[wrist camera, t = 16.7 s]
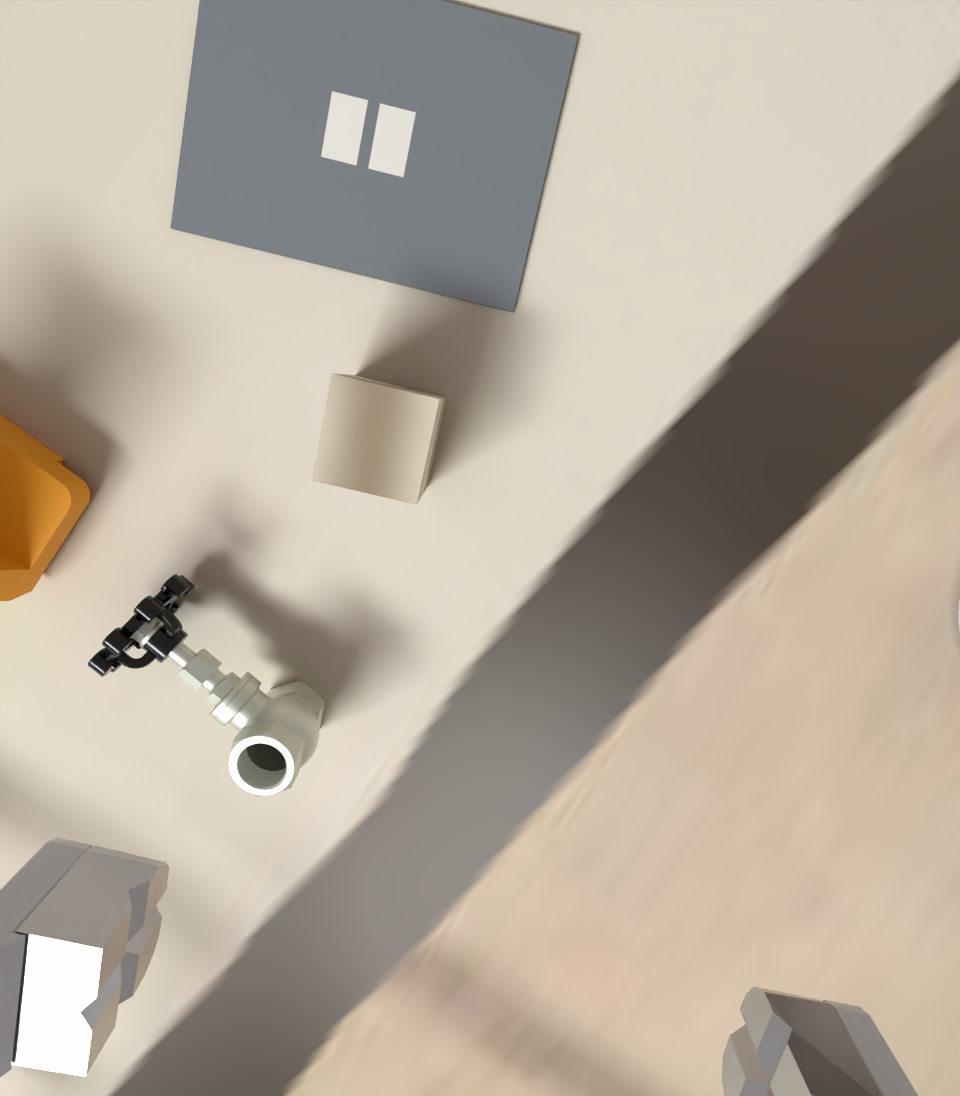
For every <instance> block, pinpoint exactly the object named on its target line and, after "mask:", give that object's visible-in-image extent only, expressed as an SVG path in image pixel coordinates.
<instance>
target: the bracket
mask: <svg viewBox="0 0 960 1096" xmlns="http://www.w3.org/2000/svg"><path fill="white" fill-rule="evenodd" d="M63 461H64V459H63V458H62V457H60V456H59V455H57V454H56V453H55V452H53V451H52V450H50V449H49V448H48V447H46V446H45V445H43V444H42V443H40V442H39V441H38V440H36V439H35V438H33V437H32V436H31V435H29V434H28V433H26V432H25V431H23V430H22V429H21V428H19V427H18V426H16V425H15V424H14V423H12V422H11V421H9V420H8V419H6V418H5V417H4V416H2V415H1V414H0V601H9V600H12V599H15V598H17V597H19V596H21V595H23V594H26V593H28V592H30V591H32V590H33V588H34V587H35V585H36V583H37V582H38V580H39V579H40V577H41V576H42V574H43V573H44V571H45V570H46V568H47V567H48V565H49V563H50V562H51V560H52V559H53V557H54V556H55V554H56V553H57V551H58V550H59V548H60V547H61V545H62V543H63V542H64V540H65V539H66V537H67V536H68V534H69V533H70V531H71V530H72V528H73V527H74V525H75V523H76V522H77V520H78V519H79V517H80V516H81V514H82V513H83V511H84V510H85V508H86V506H87V505H88V503H89V501H90V490H89V487H88V485H87V484H86V482H85V481H84V480H83V479H81V478H80V477H78V476H77V475H76V474H74V473H73V472H71V471H70V470H69V469H67V468H66V467H64V466H63V465H61V464H62V462H63Z"/></svg>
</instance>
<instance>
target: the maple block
mask: <svg viewBox="0 0 960 1096" xmlns="http://www.w3.org/2000/svg"><path fill="white" fill-rule="evenodd" d="M446 400H447V397H444V396H440V395H436V394H432V393H428V392H424V391H419V390H415V389H411V388H407V387H403V386H399V385H394V384H390V383H386V382H382V381H378V380H373V379H369V378H365V377H361V376H357V375H345V374H332V376H331V381H330V387H329V392H328V398H327V403H326V409H325V414H324V419H323V425H322V430H321V436H320V441H319V447H318V452H317V458H316V463H315V469H314V474H313V481H317V482H322V483H326V484H330V485H335V486H339V487H343V488H347V489H352V490H356V491H360V492H365V493H369V494H373V495H377V496H382V497H386V498H390V499H395V500H399V501H403V502H407V503H412V504H416V505H417V503H418V501H419V500H420V498H421V496H422V495H423V493H424V492H425V490H426V488H427V486H428V482H429V477H430V472H431V468H432V463H433V459H434V454H435V450H436V445H437V441H438V436H439V431H440V427H441V422H442V418H443V413H444V409H445V404H446Z"/></svg>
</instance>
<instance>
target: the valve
mask: <svg viewBox="0 0 960 1096" xmlns="http://www.w3.org/2000/svg"><path fill="white" fill-rule="evenodd" d="M194 589H195V585H194V584H192V583H191V582H190V581H189V580H188V579H186V578H185V577H184V576H183V575H181V576H178V575H177V574H175V575H173V576H172V577H170V578H169V579H168V580H167V581H166V582H165V583H164V585H163V586H162V587H161V591H160V592H159V593H158V594H157V595H156V596H155V597H152V596H147V597H146V598H144V599H143V600H142V601H141V602H140V603H139V604H138V605H137V606H136V608H135V609H134V613H135V614H134V616H133V617H132V618H131V619H130V620H129V621H128V622H127V623H126V624H125V625H124V626H123V627H122V628H119V627H118V628H116V629H115V630H113V631H112V632H111V633H110V634H109V635H108V636H107V637H106V638H105V639H104V641H103V642H102V645H103V646H104V647H106V648H103V649H102V650H100V651H99V652H98V653H97V654H96V655H95V656H94V657H93V658H92V659H91V660H90V661H89V662H88V666H89V667H91V668H92V669H93V670H94V671H96V672H97V673H98V674H99V675H101V676H102V677H103V676H105V675H106V674H108V673H109V672H110V671H111V672H115V671H116V670H117V669H118V668H120V667H121V666H122V665H124V666H126V667H129V668H143V667H145V666H147V665H149V664H151V663H152V662H153V661H154V660H155V659H156V660H158V661H159V662H160V663H162V662H164V661H165V660H166V659H167V658H168V657H170V658H171V659H172V660H174V661H175V662H176V663H177V664H178V665H180V666H181V667H182V668H183V669H182V670H181V671H180V673H179V675H178V676H179V677H180V678H181V679H182V680H184V681H185V682H186V683H187V684H188V685H190V686H191V687H192V688H193V689H195V690H196V691H197V690H198V689H199V688H200V687H201V686H203V687H204V688H205V689H207V690H208V691H209V696H208V699H207V700H208V701H209V702H211V703H212V704H213V705H214V706H215V708H214V709H213V710H212V711H211V713H210V714H209V715H210V716H211V717H212V718H213V719H215V720H216V721H217V722H219V723H220V724H221V725H222V726H224V725H226V724H227V723H230V724H231V725H233V726H234V727H235V728H236V729H238V731H239V734H238V735H237V736H236V738H235V739H234V741H233V744H232V748H231V753H230V759H229V765H228V775H229V776H230V777H231V778H232V779H233V780H234V781H235V782H236V783H237V784H238V785H239V786H240V787H242V788H243V789H244V790H246V791H247V792H249V793H250V794H252V795H254V796H255V797H261V796H267V795H271V794H275V793H278V792H281V791H284V790H287V789H289V788H291V787H292V785H293V783H294V781H295V779H296V777H297V775H298V773H299V769H300V768H301V767H302V766H303V765H304V764H305V763H306V762H307V761H308V760H309V759H310V758H311V756H312V755H313V753H314V751H315V749H316V747H317V743H318V739H319V730H320V726H321V721H322V716H323V711H324V706H325V700H324V699H323V698H322V697H321V696H319V695H318V694H317V693H316V692H315V691H313V690H312V689H311V688H310V687H309V686H307V685H306V684H305V683H304V682H302V681H301V680H300V681H296V682H293V683H289V684H286V685H282V686H279V687H275V688H272V689H270V690H269V692H268V693H267V695H266V694H265V693H263V692H262V691H261V690H260V689H259V686H260V685H261V682H260V681H259V680H258V679H256V678H255V677H254V676H253V675H252V674H250V673H249V672H247V673H246V674H245V675H244V676H243V677H242V678H239V677H238V676H237V675H236V674H234V673H233V672H231V673H229V674H228V675H224V674H223V673H222V672H220V671H219V670H218V667H219V666H220V665H221V664H222V663H221V662H220V661H219V660H217V659H216V658H215V657H214V656H213V655H211V654H210V653H209V652H208V651H206V650H205V649H202V650H200V651H199V652H198V653H197V654H196V653H195V652H194V651H192V650H191V649H190V648H189V647H187V646H186V645H185V644H184V643H183V641H184V640H185V639H186V638H187V636H188V634H187V633H186V632H184V631H183V628H182V625H181V623H180V621H179V620H178V619H177V618H176V617H175V615H174V614H175V613H176V612H177V611H178V609H179V608H180V605H179V604H177V603H176V602H175V601H176V600H177V598H178V597H179V596H180V595H182V594H183V595H184V596H186V597H187V596H188V595H189V594H190V593H191V592H192V591H193V590H194ZM133 646H135V647H136V648H138V649H141V648H143V649H144V650H145V651H147V653H146V654H145V655H144V656H143V657H141V658H139V659H134V658H132V657H131V656H129V655H128V654H127V653H126V652H127V651H128V650H130V649H131V648H132V647H133Z"/></svg>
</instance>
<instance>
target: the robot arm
mask: <svg viewBox="0 0 960 1096" xmlns="http://www.w3.org/2000/svg"><path fill="white" fill-rule="evenodd" d="M959 630H960V601H959ZM168 872H169V867H168V865H167V864H166V862H162V861H158V860H154V859H149V858H145V857H141V856H137V855H133V854H128V853H124V852H120V851H116V850H111V849H107V848H103V847H99V846H91V845H87V844H83V843H79V842H75V841H70V840H66V839H62V838H56V839H53V840H51V841H49V842H47V843H46V844H45V845H44V846H43V847H42V848H41V849H40V850H39V851H38V852H37V853H36V854H35V855H34V856H33V857H32V858H31V859H30V860H29V861H28V862H27V863H26V864H25V865H24V866H23V867H22V868H21V869H20V870H19V871H18V872H17V873H16V874H15V875H14V877H13V878H12V879H11V880H10V881H9V882H8V883H7V884H6V885H5V886H4V887H3V888H2V889H1V890H0V1077H1V1076H2V1075H4V1074H5V1073H7V1072H8V1071H9V1070H11V1067H12V1064H13V1065H19V1066H25V1067H31V1068H37V1069H43V1070H49V1071H55V1072H61V1073H67V1074H74V1075H80V1076H86V1075H87V1073H88V1071H89V1070H90V1068H91V1066H92V1064H93V1063H94V1061H95V1059H96V1058H97V1056H98V1054H99V1053H100V1051H101V1049H102V1048H103V1046H104V1044H105V1043H106V1041H107V1039H108V1037H109V1036H110V1034H111V1032H112V1031H113V1029H114V1027H115V1023H116V1016H117V1010H118V1004H120V1003H122V1002H123V1001H125V1000H127V999H128V998H130V997H132V996H133V995H134V993H135V991H136V989H137V988H138V986H139V984H140V982H141V981H142V979H143V977H144V975H145V973H146V970H147V968H148V965H149V963H150V961H151V958H152V956H153V953H154V950H155V947H156V943H157V940H158V936H159V932H160V926H161V920H162V916H161V914H160V913H159V911H158V909H157V907H156V905H157V903H158V901H159V900H160V898H161V897H162V895H163V893H164V892H165V890H166V888H167V880H168ZM740 1010H741V1013H742V1016H743V1018H744V1021H745V1023H746V1024H745V1025H744V1026H743V1027H741V1028H740V1029H738V1030H737V1031H735V1032H734V1033H733V1034H731V1035H730V1037H729V1040H728V1043H727V1046H726V1049H725V1052H724V1055H723V1069H722V1082H723V1089H724V1096H918V1095H917V1093H916V1091H915V1090H914V1088H913V1086H912V1085H911V1083H910V1081H909V1080H908V1078H907V1077H906V1075H905V1073H904V1072H903V1070H902V1068H901V1067H900V1065H899V1063H898V1062H897V1060H896V1058H895V1057H894V1055H893V1053H892V1052H891V1050H890V1048H889V1047H888V1045H887V1043H886V1042H885V1040H884V1038H883V1037H882V1035H881V1034H880V1032H879V1030H878V1029H877V1027H876V1025H875V1024H874V1022H873V1020H872V1019H871V1017H870V1016H869V1014H868V1013H866V1012H865V1011H864V1010H863V1009H862V1008H861V1007H859V1006H853V1005H848V1004H843V1003H837V1002H832V1001H827V1000H823V1001H821V1000H817V999H812V998H807V997H802V996H797V995H793V994H788V993H783V992H778V991H773V990H768V989H763V988H758V987H753V988H752V989H751V990H750V991H749V992H748V993H747V994H746V995H745V998H744V1000H743V1003H742V1005H741V1008H740Z"/></svg>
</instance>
